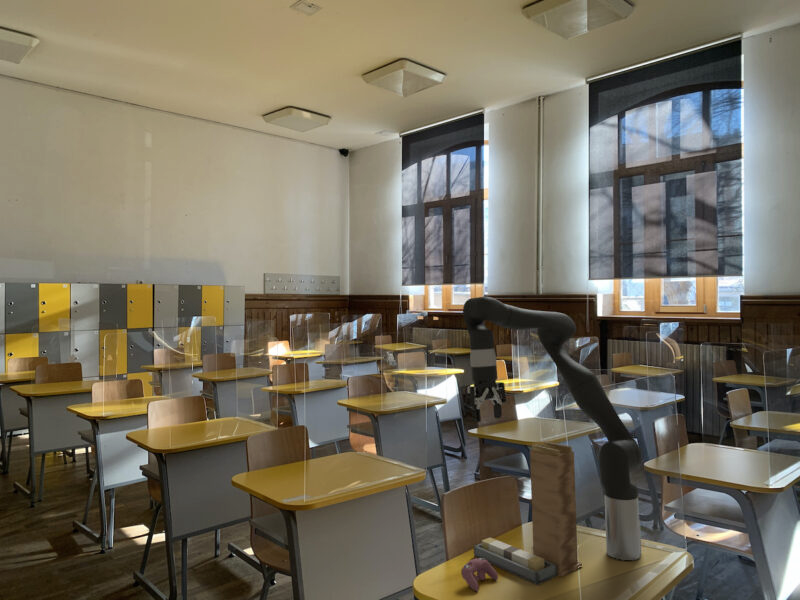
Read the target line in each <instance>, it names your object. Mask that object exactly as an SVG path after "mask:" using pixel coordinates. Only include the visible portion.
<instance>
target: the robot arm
mask: <svg viewBox="0 0 800 600" xmlns="http://www.w3.org/2000/svg"><path fill="white" fill-rule="evenodd" d="M462 307H463V308H462V317H463V320H464V323H465V326H466V330H467V333H468V335H469V344H470V345H469V348H470V355H469V358H470V370H471V380H472V382H473V386H465V406H466V407H467V408H470V409H471V412H472V420H473V422H474V423H481V422H482V419H481V417H482V416H481V408H480V407H481V406H482V404H483V403H484V401H486V400H490V401H491V402H492V404H493V417H494V419H501V418H502V405H503V403H507V395H506V387H505V382H502V381H499V382H498V381H497V380H498V367H497V365H498V364H497V355H496V350H495V339H494V333H493V330H492V329H489V328H487V327H486V324H485V321H486V322H492V324H494V325H495V326H497V327H500V328H504V329H509V330H514V331H522V330H525V331H526V330H533V329H537V330H536V332H537V337H538V339H539V341H540V343H541V345H542V346H543V348H544V349H545V351H546V352H547V354H548V356H549V357H550V359H551V360H552V361H553V363H554V365H555V366H556V369H557V370H558V372H560V376H562V378H563V380H564V382H565V384H566V386H567V388H568V390H569V392H570V395H571V396H572V398H573V400H574V402H575V403H576V405H577V406H578V408H579V409H580V410H581V412H583V413H584V414H585V415H586V416H587V417H588V418H589V419H590V420H592V421H593V422H594V423H595V424H596V425H597V427H599V429H600V430H601V431H602V433H603V434H604V436H605V438H606V439H607V441H606V442H605V443H603V444H602V446H601V447H600V450H599V455H598V457H599V458H598V460H599V461H598V462H599V472H600V473H599V474H600V481H601V485H602V488H603V491H604V516H605V517H604V519H605V522H604V523H605V546H606V547H605V548H606V554H607V555H608V557H610V556H611V558H612V557H613V558H612V559H614V558H617V559H616V560H618V559H621V560H620V561H624V560H632V561H637V560H639V559H640V558H641V554H642V535H641V533H642V532H641V529H642V528H641V520H640V513H639V511H640V510H639V509H640V508H639V488H638V487H637V485H636V484H634V483H632V482H631V479H630V471H631V470H634V469H637V468H638V467H640V465H641V463H642V460H643V455H642V450H641V448H640V446H639V444H638V443H637V441H636V439H635V438H634V437H633V435H632V434H631V432H630V431H629V430H628V428H627V427H626V425H625V424H624V422H623V421H622V419H621V417H620V416H619V414H618V412H617V411H616V409H615V408H614V405H613V404H612V402H611V401H610V399H609V397H608V395H607V394H606V391H605V389H604V388H603V386H602V384H601V382H600V381H599V378H598V377H597V375H596V374H595V373H594V372H593V371H592V370H590V369H589V368H587V367H585V366H584V365H582V364H580V363H579V362H577V361H575V360H574V359H573V358H571V356H570V355H569V354H568V352H567V351H566V349H565V348H564V346H563V345H564V344H565V343H567V342H568V341H569V340H571V339H572V338H573V337H574V336H575V334H576V332H577V326H576V324H575V323H576V322H575V321H574V320H573V319H572V318H571V317H570V316H569V315H567V314H565V313H563V312H562V313H561V312H557V311H545V310H543V311H542V310H535V309H534V310H533V309H526V308H520V307H518V306H514V305H510V304H506V303H503V302H502V301H500V300H498V299H495V298H493V297H491V296H490V297H489V296H479V297H473V298H469V299H467V300H466V301H465V302H464V304H463V306H462Z"/></svg>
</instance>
